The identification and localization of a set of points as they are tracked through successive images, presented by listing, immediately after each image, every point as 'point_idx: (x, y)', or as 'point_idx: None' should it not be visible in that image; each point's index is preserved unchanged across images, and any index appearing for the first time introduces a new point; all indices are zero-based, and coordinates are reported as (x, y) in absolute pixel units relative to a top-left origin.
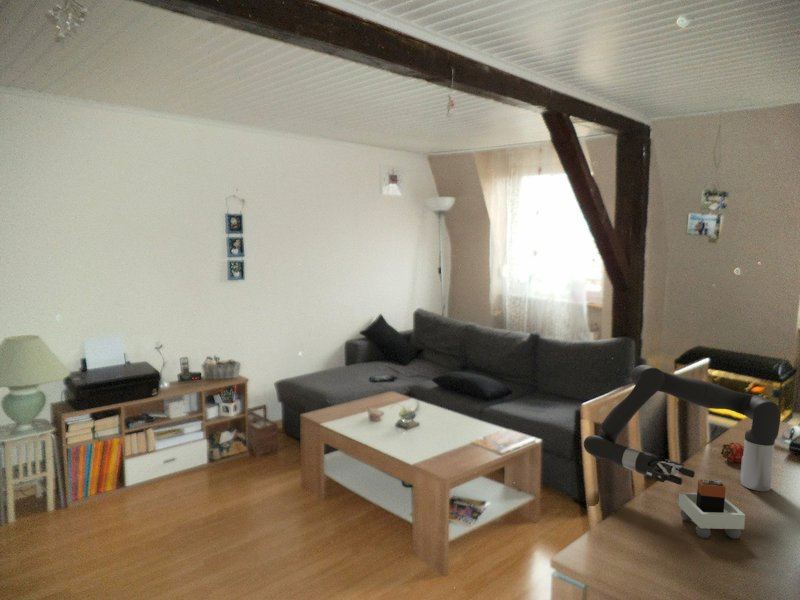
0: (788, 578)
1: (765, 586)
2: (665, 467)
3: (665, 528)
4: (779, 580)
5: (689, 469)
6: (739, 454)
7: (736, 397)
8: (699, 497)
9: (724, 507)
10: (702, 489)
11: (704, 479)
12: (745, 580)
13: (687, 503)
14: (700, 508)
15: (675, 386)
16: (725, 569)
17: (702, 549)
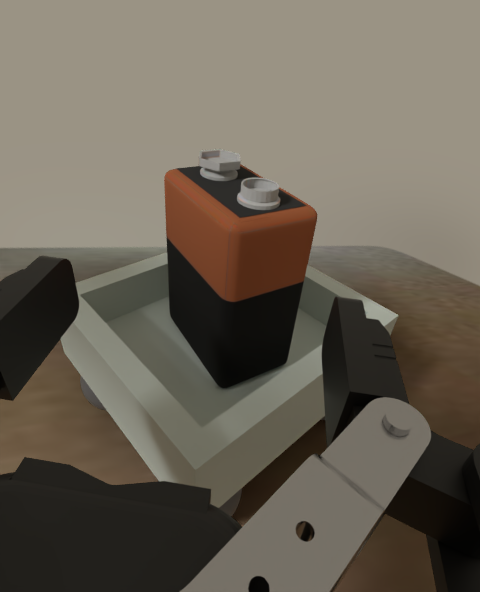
0: (336, 250)
1: (418, 272)
2: (102, 550)
3: (405, 584)
4: (363, 259)
5: (16, 279)
6: None
7: None
8: (281, 310)
9: (149, 300)
10: (311, 239)
11: (246, 190)
12: (442, 296)
13: (295, 404)
14: (289, 348)
15: None
16: (448, 329)
17: (410, 391)
